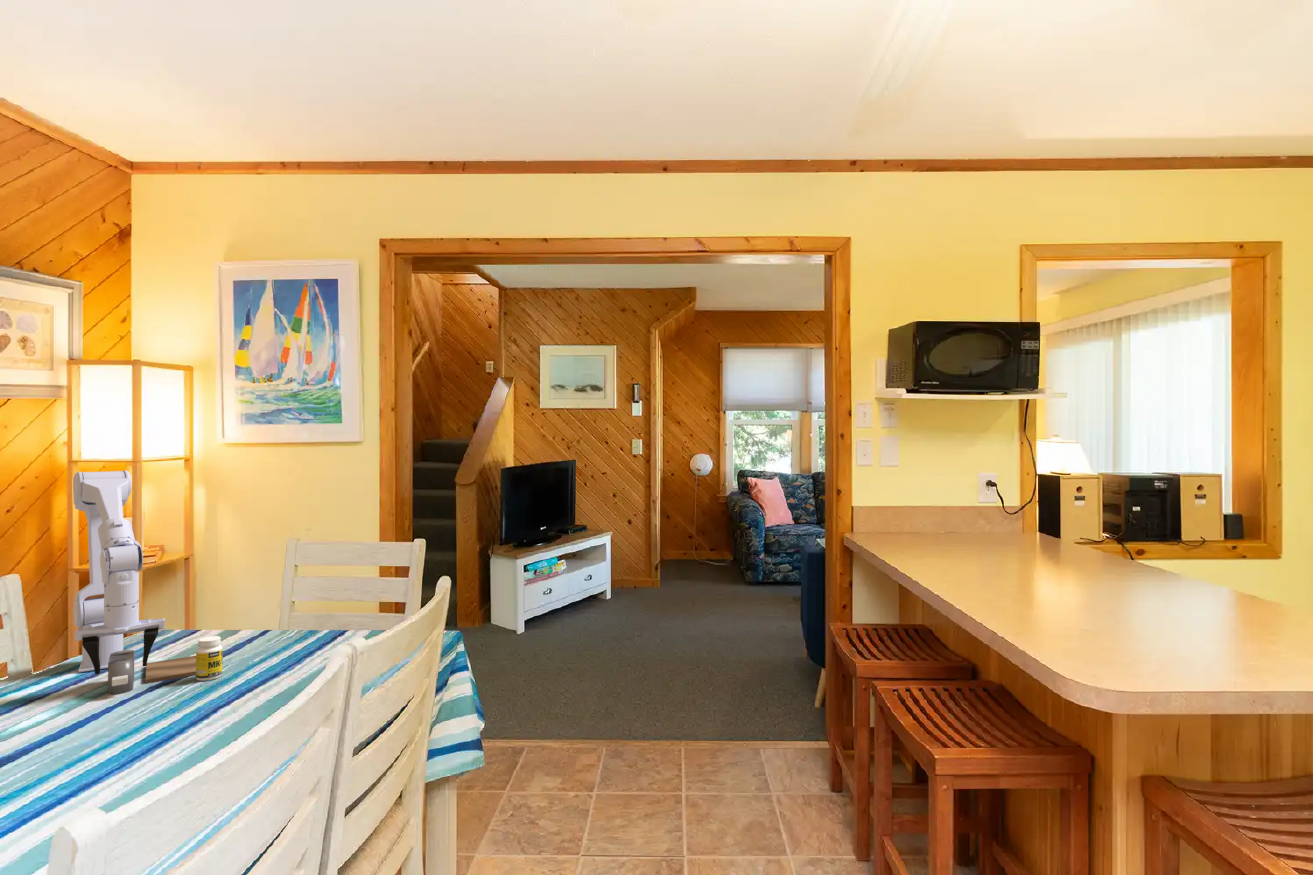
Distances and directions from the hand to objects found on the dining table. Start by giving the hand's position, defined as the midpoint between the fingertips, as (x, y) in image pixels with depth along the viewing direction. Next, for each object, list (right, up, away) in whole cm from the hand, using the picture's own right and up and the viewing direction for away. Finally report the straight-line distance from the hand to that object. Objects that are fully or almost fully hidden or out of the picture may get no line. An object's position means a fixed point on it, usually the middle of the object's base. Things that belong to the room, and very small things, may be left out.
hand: (121, 668), depth 140 cm
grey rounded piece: (0, -4, 0) cm, 4 cm away
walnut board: (+5, -4, +10) cm, 12 cm away
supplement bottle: (+15, -4, +5) cm, 16 cm away
